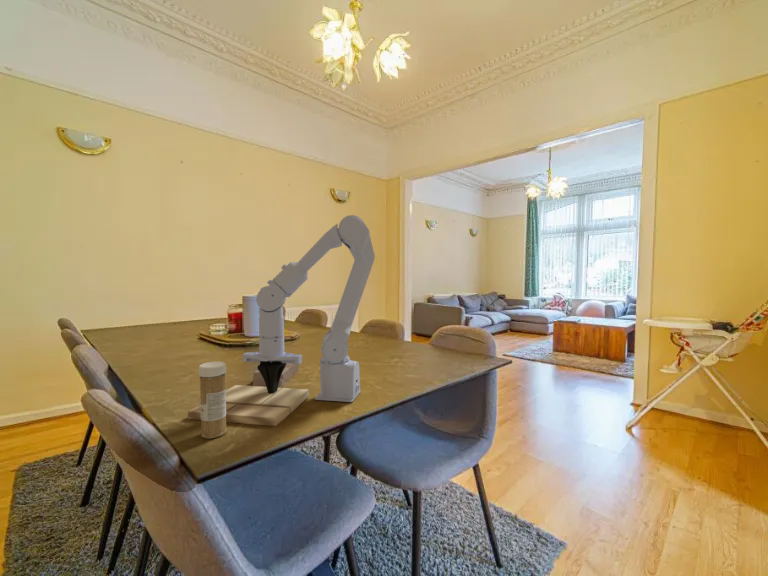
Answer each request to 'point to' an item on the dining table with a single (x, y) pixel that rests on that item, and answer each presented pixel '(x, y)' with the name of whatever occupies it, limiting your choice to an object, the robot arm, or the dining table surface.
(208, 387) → the sprinkles bottle
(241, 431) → the dining table surface
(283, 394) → the plank
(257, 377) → the brick
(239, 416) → the floor row
